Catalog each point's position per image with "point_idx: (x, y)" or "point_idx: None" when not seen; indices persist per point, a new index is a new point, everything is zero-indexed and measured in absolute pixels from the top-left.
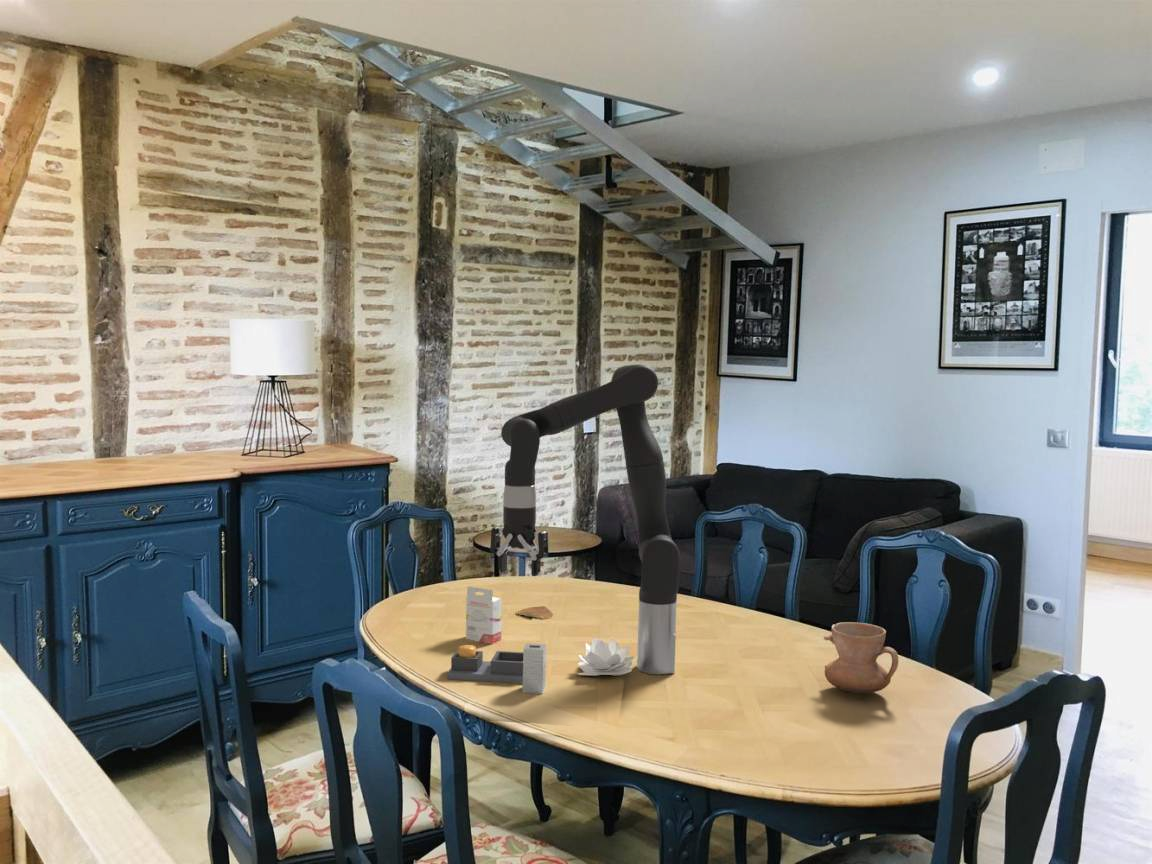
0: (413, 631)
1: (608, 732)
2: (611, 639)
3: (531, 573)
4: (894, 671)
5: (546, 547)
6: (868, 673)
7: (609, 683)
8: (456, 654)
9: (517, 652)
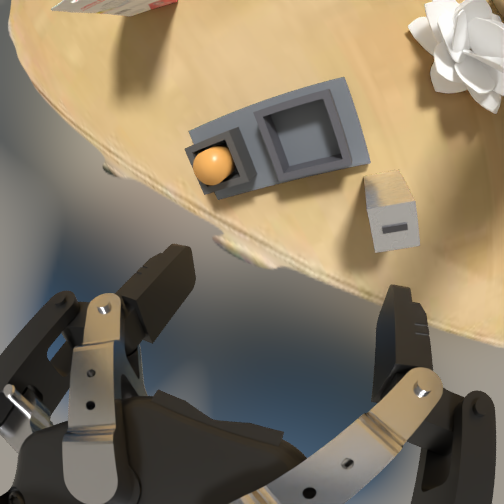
0: (63, 46)
1: (500, 307)
2: (497, 26)
3: (376, 333)
4: None
5: (479, 469)
6: None
7: None
8: None
9: (299, 100)
